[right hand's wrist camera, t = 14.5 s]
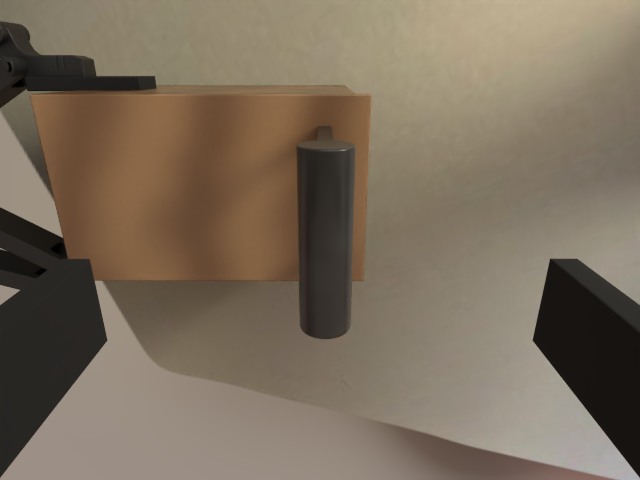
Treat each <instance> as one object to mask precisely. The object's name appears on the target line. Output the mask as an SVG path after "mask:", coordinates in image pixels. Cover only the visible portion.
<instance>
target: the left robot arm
mask: <svg viewBox="0 0 640 480" xmlns="http://www.w3.org/2000/svg"><path fill="white" fill-rule="evenodd" d="M29 41H30V34H29V32H28V30H27V29H26V28H25V27H24V26H23V25H20V24H14V23H8V22H1V21H0V58H1V60H0V108H1V107H2V106H4V105H5V104H6V103H8V102H9V101H11V100H12V99H13V98H15V97H16V96H17V95H19V94H20V93H21V92H23V91H24V90H26V89H27V91H76V90H148V89H156V82H155V76H96V71H95V66H94V60H93V59H91V58H88V57H86V56H74V55H40V54H39V53H37V52H36V51H35V50H34V49H33V47H32V46H31V44H30V42H29ZM0 248H2V249H4V250H6V251H4V250H0V285H3V286H7V287H11V288H15V289H19V290H22V289H23V288H24V287H26V286H27V285H28V284H30V283H31V282H32V281H34V280H35V279H36V278H38V277H39V276H40V275H42V274H43V273H44V272H46V271H47V270H49V269H50V268H51V267H53V266H54V265H55V264H57V263H58V262H59V261H61V260H62V259H68V256H67V252H66V248H65V243H64V239H63V238H62V237H60V236H58V235H56V234H54V233H51V232H49V231H47V230H45V229H43V228H41V227H39V226H37V225H35V224H33V223H31V222H29V221H27V220H25V219H23V218H21V217H19V216H17V215H15V214H13V213H11V212H8V211H6V210H4V209H2V208H0Z"/></svg>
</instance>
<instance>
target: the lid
mask: <svg viewBox="0 0 640 480" xmlns="http://www.w3.org/2000/svg"><path fill="white" fill-rule="evenodd" d="M30 99H31V103H32V107H33V111H34V116H35V120H36V124H37V128H38V133H39V137H40V141H41V145H42V150H43V154H44V158H45V162H46V167H47V171H48V175H49V179H50V184H51V188H52V192H53V196H54V201H55V205H56V209H57V213H58V218H59V222H60V226H61V230H62V235H63V239H64V243H65V248H66V252H67V256H68V259H90V262H91V267H92V272H93V276H94V280H131V281H299V308H300V327H301V329H302V331H303V332H304V333H305V334H307V335H309V336H311V337H314V338H319V339H332V338H337V337H340V336H342V335H344V334H345V333H346V332H347V331H348V330H349V328H350V323H351V290H352V281H363V280H364V256H365V232H366V208H367V184H368V160H369V136H370V112H371V95H370V94H31V95H30Z"/></svg>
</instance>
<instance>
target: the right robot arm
mask: <svg viewBox="0 0 640 480" xmlns="http://www.w3.org/2000/svg"><path fill="white" fill-rule="evenodd" d="M106 341H107V337H106V332H105V327H104V323H103V318H102V314H101V309H100V304H99V300H98V295H97V290H96V286H95V281H94V276H93V272H92V267H91V262H90V259H62V260H61V261H59V262H58V263H57V264H55V265H54V266H53V267H51V268H50V269H49V270H47V271H46V272H44V273H43V274H42V275H40V276H39V277H38V278H36V279H35V280H34V281H32V282H31V283H30V284H28V285H27V286H26V287H24V288H23V289H22V290H20V291H19V292H18V293H16V294H15V295H13V296H12V297H11V298H9V299H8V300H7V301H5V302H4V303H3V304H1V305H0V477H1V476H2V475H3V473H4V472H5V471H6V470H7V468H8V467H9V466H10V464H11V463H12V462H13V461H14V459H15V458H16V457H17V455H18V454H19V453H20V452H21V450H22V449H23V448H24V447H25V445H26V444H27V443H28V441H29V440H30V439H31V437H32V436H33V435H34V434H35V432H36V431H37V430H38V429H39V427H40V426H41V425H42V423H43V422H44V421H45V420H46V418H47V417H48V416H49V414H50V413H51V412H52V411H53V409H54V408H55V407H56V405H57V404H58V403H59V402H60V400H61V399H62V398H63V397H64V395H65V394H66V393H67V391H68V390H69V389H70V388H71V386H72V385H73V384H74V382H75V381H76V380H77V379H78V377H79V376H80V375H81V374H82V372H83V371H84V370H85V368H86V367H87V366H88V364H89V363H90V362H91V361H92V359H93V358H94V357H95V356H96V354H97V353H98V352H99V350H100V349H101V348H102V347H103V345H104V344H105V343H106ZM533 341H534V343H535V344H536V345H537V347H538V348H539V349H540V350H541V352H542V353H543V354H544V356H545V357H546V358H547V359H548V361H549V362H550V363H551V365H552V366H553V367H554V368H555V370H556V371H557V372H558V374H559V375H560V376H561V377H562V379H563V380H564V381H565V382H566V384H567V385H568V386H569V388H570V389H571V390H572V391H573V393H574V394H575V395H576V397H577V398H578V399H579V400H580V402H581V403H582V404H583V406H584V407H585V408H586V409H587V411H588V412H589V413H590V414H591V416H592V417H593V418H594V420H595V421H596V422H597V423H598V425H599V426H600V427H601V429H602V430H603V431H604V432H605V434H606V435H607V436H608V438H609V439H610V440H611V441H612V443H613V444H614V445H615V447H616V448H617V449H618V450H619V452H620V453H621V454H622V455H623V457H624V458H625V459H626V461H627V462H628V463H629V464H630V466H631V467H632V468H633V470H634V471H635V472H636V473H637V475H638V476H639V477H640V305H639V304H637V303H636V302H635V301H633V300H632V299H631V298H629V297H628V296H626V295H625V294H624V293H622V292H621V291H620V290H618V289H617V288H616V287H614V286H613V285H612V284H610V283H609V282H608V281H606V280H605V279H604V278H602V277H601V276H600V275H598V274H597V273H596V272H594V271H593V270H591V269H590V268H589V267H587V266H586V265H585V264H583V263H582V262H581V261H579V260H578V259H550V262H549V267H548V272H547V276H546V281H545V286H544V290H543V295H542V300H541V304H540V309H539V313H538V318H537V323H536V327H535V332H534V337H533Z"/></svg>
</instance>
